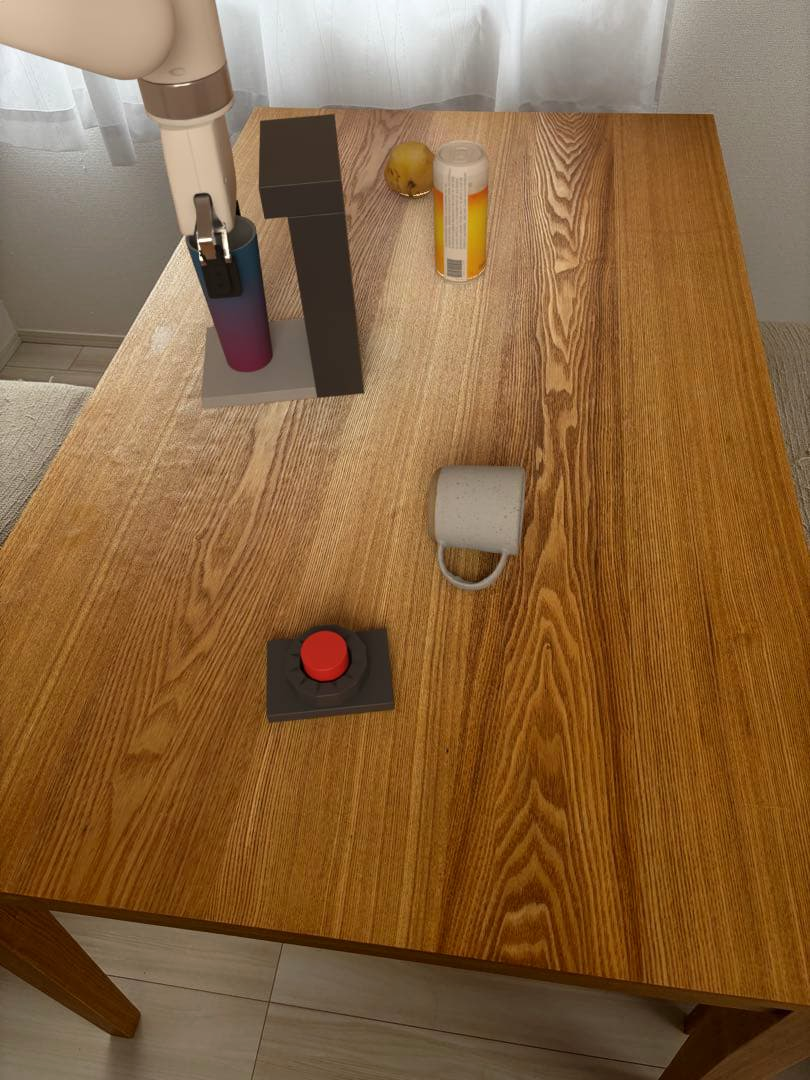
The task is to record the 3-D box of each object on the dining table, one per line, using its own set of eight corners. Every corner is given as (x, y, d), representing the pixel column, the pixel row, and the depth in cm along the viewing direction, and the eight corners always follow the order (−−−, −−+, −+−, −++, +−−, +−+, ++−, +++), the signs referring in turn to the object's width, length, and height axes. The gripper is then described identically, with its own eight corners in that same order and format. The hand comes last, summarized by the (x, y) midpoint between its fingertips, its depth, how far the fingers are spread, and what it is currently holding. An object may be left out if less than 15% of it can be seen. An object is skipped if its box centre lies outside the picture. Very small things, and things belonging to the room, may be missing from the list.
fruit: (436, 173, 109) (448, 132, 114) (383, 157, 108) (397, 117, 114) (425, 220, 114) (436, 179, 120) (374, 205, 114) (388, 165, 120)
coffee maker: (204, 409, 92) (139, 198, 73) (209, 337, 99) (152, 129, 80) (364, 393, 92) (340, 179, 73) (357, 323, 100) (334, 113, 81)
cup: (206, 356, 95) (171, 233, 83) (258, 329, 97) (231, 206, 86) (240, 387, 91) (209, 263, 80) (293, 358, 94) (270, 234, 82)
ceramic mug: (437, 499, 82) (435, 442, 76) (524, 506, 81) (529, 449, 75) (422, 591, 76) (418, 537, 70) (515, 600, 75) (520, 546, 69)
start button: (304, 684, 68) (301, 672, 66) (303, 644, 70) (300, 632, 68) (350, 679, 68) (347, 667, 66) (347, 640, 70) (345, 628, 69)
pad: (268, 723, 68) (262, 705, 66) (269, 648, 73) (262, 628, 71) (394, 710, 69) (392, 691, 66) (387, 635, 73) (385, 615, 71)
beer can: (487, 258, 106) (491, 138, 95) (483, 288, 103) (487, 167, 91) (438, 256, 107) (436, 137, 95) (432, 286, 103) (429, 165, 92)
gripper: (150, 48, 77) (195, 222, 91) (130, 142, 67) (184, 324, 80) (234, 40, 78) (266, 215, 91) (227, 133, 67) (265, 316, 80)
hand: (228, 266), depth 86 cm, fingers open, 9 cm apart
